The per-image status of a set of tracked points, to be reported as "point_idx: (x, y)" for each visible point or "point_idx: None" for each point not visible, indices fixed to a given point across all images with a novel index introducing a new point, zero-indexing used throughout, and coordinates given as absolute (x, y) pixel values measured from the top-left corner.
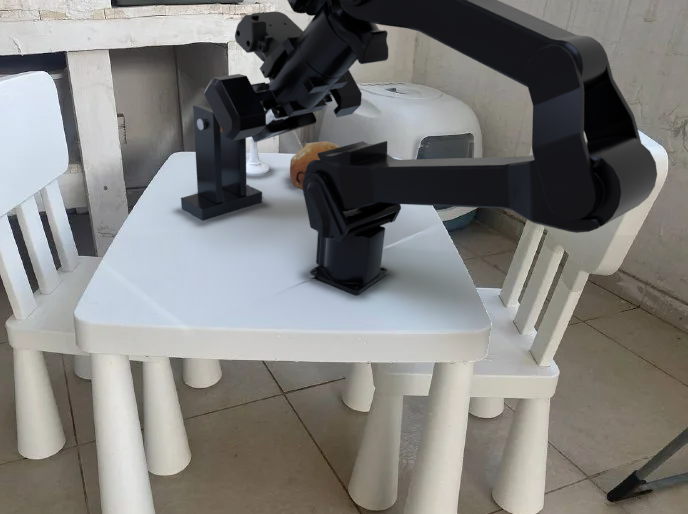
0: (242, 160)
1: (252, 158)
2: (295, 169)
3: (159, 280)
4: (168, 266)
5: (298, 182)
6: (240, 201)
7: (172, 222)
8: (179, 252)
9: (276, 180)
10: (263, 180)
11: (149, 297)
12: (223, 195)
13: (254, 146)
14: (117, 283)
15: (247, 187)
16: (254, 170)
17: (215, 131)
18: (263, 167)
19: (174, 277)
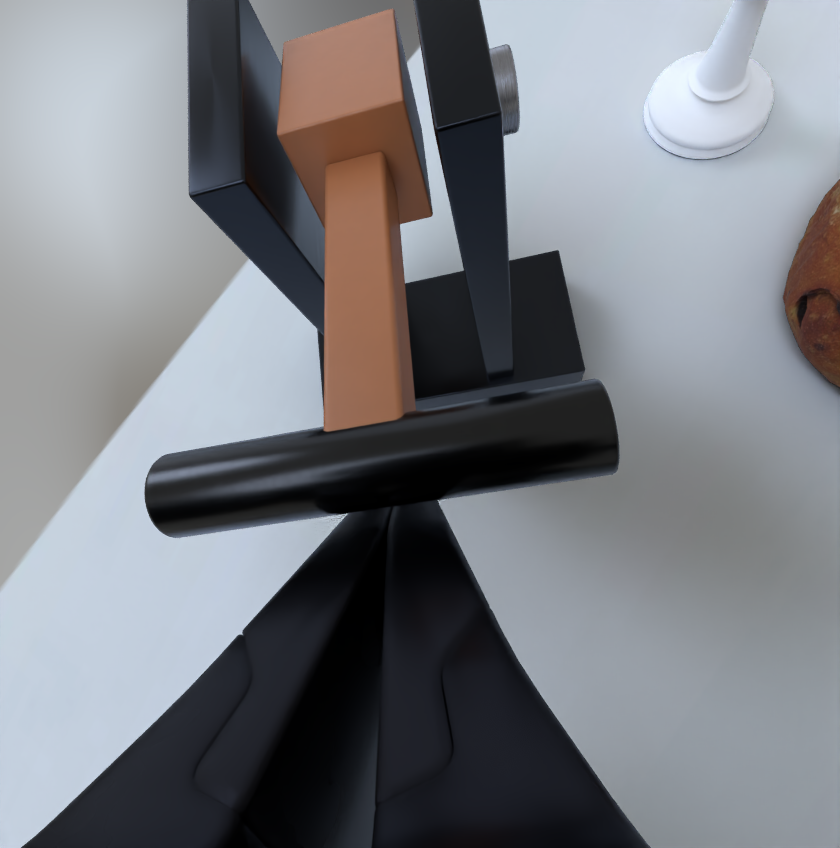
0: (488, 322)
1: (711, 72)
2: (823, 262)
3: (90, 684)
4: (142, 625)
5: (798, 313)
6: (481, 393)
7: (278, 378)
8: (202, 564)
9: (747, 207)
10: (698, 191)
11: (33, 752)
12: (440, 342)
13: (742, 23)
14: (18, 636)
15: (554, 310)
16: (691, 131)
17: (271, 267)
18: (740, 117)
19: (124, 693)
